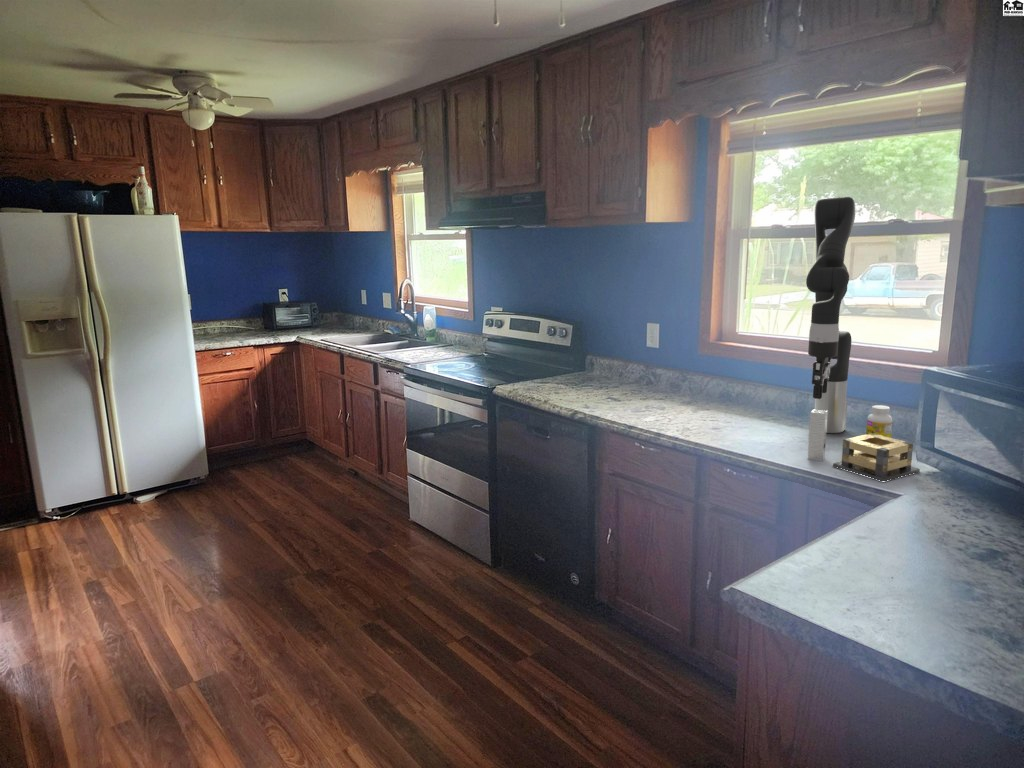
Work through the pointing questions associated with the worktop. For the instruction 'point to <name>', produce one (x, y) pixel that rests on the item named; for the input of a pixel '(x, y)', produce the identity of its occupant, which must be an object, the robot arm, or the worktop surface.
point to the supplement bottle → (880, 421)
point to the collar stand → (877, 457)
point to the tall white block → (817, 434)
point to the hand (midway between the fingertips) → (819, 395)
